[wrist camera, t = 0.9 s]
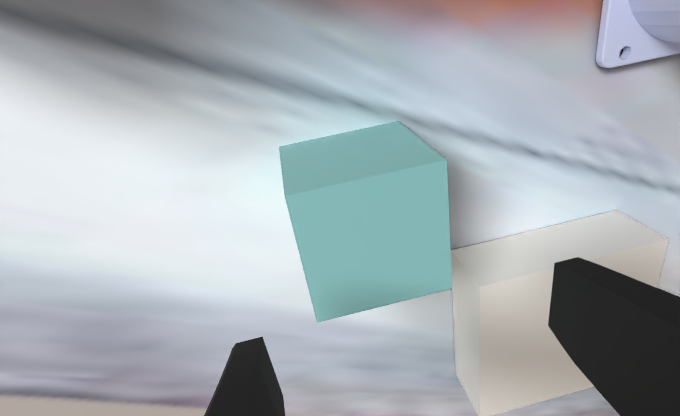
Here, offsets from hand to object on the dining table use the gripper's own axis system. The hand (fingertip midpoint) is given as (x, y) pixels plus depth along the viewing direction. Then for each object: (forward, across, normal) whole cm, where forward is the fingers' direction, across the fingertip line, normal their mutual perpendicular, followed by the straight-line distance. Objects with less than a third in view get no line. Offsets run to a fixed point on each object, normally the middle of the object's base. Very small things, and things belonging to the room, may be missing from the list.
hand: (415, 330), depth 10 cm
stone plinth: (+9, -9, +9) cm, 15 cm away
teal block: (+9, 0, 0) cm, 9 cm away
